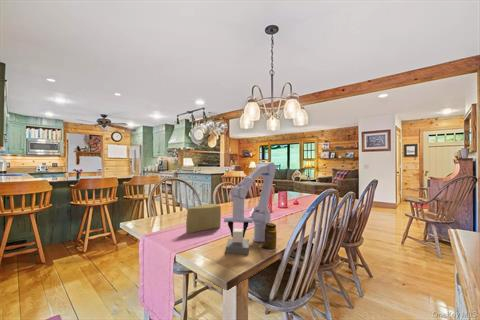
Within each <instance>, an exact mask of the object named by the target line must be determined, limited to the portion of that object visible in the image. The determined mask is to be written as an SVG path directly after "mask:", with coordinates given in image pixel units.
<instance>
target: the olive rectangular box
mask: <svg viewBox="0 0 480 320" xmlns="http://www.w3.org/2000/svg"><path fill="white" fill-rule="evenodd" d="M221 207H222V206H221V205H220V204H216V203H209V204H202V205H198V206H193V207H188V209H187V212H186V219H185V221H186V222H185V223H186V224H185V225H186V226H185V227H186V228H185V233H187V234H190V233H195V232H202V231H207V230H213V229H220V228H221V221H222V220H221V216H222V208H221Z"/></svg>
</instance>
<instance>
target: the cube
mask: <svg viewBox="0 0 480 320" xmlns="http://www.w3.org/2000/svg"><path fill="white" fill-rule="evenodd" d="M232 239H233V242H243V239H244V238H243V228H234V227H233V237H232Z"/></svg>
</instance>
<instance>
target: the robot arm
mask: <svg viewBox="0 0 480 320" xmlns="http://www.w3.org/2000/svg"><path fill="white" fill-rule="evenodd" d="M276 169H277V167H276V164H275V163H274V162H273V161H270V162H269V161H258V162H257V164H255V168H254V169H253V170H252V172H251V173H250V174H249V176H244V177H243V178H242V180H241V181H240V182H239V183H238V184H237V185H234V186H233V187H232V188H231V190H230V196H231V199H232V216H231V217H230V216H229V217H224V218H223V223H227V226H228V228H229V231H230V234H231V238H233V229H234V223H239V224H240V223H243V227H242V229H243V239H245V236H246V235H245V234H246V231H247V228H248V226H249V224H254V228H253V230H254V231H253V237H252V238H253V242H260V243H263V242H264V243H265V229H266V228H265V227H266V224H267V223H271V210H270V209H269V208H268V206H269V203H270V201H269V200H270V196H271V191H272V188H273V187H272V186H273V182H274V178H275V174H276ZM259 176H261V177H262V178H263V182H262V186H261V191H260V196H259V201H258V204H257V206H256V207H254V208H253V211H252V213H251V218H250V217H245V198H246V197H247V195H248V192H249V190H250V189H251V187H252V186H253V185H254V181H256V179H257V178H258V177H259Z"/></svg>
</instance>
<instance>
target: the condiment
mask: <svg viewBox="0 0 480 320" xmlns="http://www.w3.org/2000/svg"><path fill="white" fill-rule="evenodd" d="M265 228H266V229H265V242H264V244H263V245H261V246H259V247H258V248H259V249H261V250H263V251H266V252H269V253H272V252H273V251H275V250H277V249H279V248H280V246H278V245H277V225H276V224H275V223H273V222H269V223H267V224H266V227H265Z"/></svg>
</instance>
